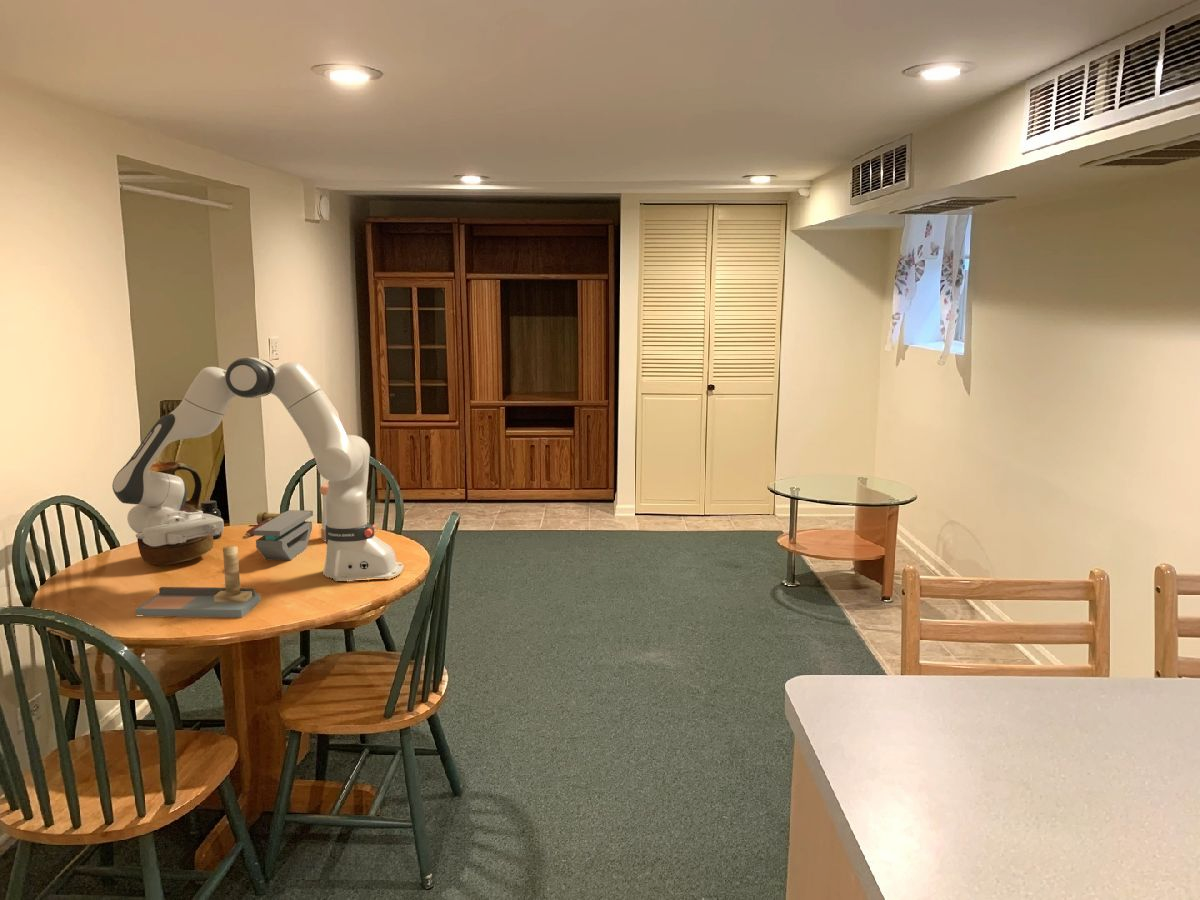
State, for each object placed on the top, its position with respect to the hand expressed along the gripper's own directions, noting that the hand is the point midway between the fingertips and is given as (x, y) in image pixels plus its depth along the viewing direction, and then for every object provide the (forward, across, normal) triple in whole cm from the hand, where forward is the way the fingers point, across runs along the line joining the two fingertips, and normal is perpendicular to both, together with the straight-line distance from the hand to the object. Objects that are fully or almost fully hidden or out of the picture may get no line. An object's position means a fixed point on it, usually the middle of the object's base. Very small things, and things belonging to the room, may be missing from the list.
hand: (200, 535), depth 227 cm
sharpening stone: (-16, +37, +17) cm, 44 cm away
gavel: (-46, +50, +17) cm, 70 cm away
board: (+7, -5, +17) cm, 19 cm away
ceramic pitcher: (-37, +15, +17) cm, 43 cm away
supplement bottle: (-52, +35, +17) cm, 65 cm away
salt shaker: (-19, +57, +16) cm, 62 cm away
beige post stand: (+13, 0, +14) cm, 19 cm away
